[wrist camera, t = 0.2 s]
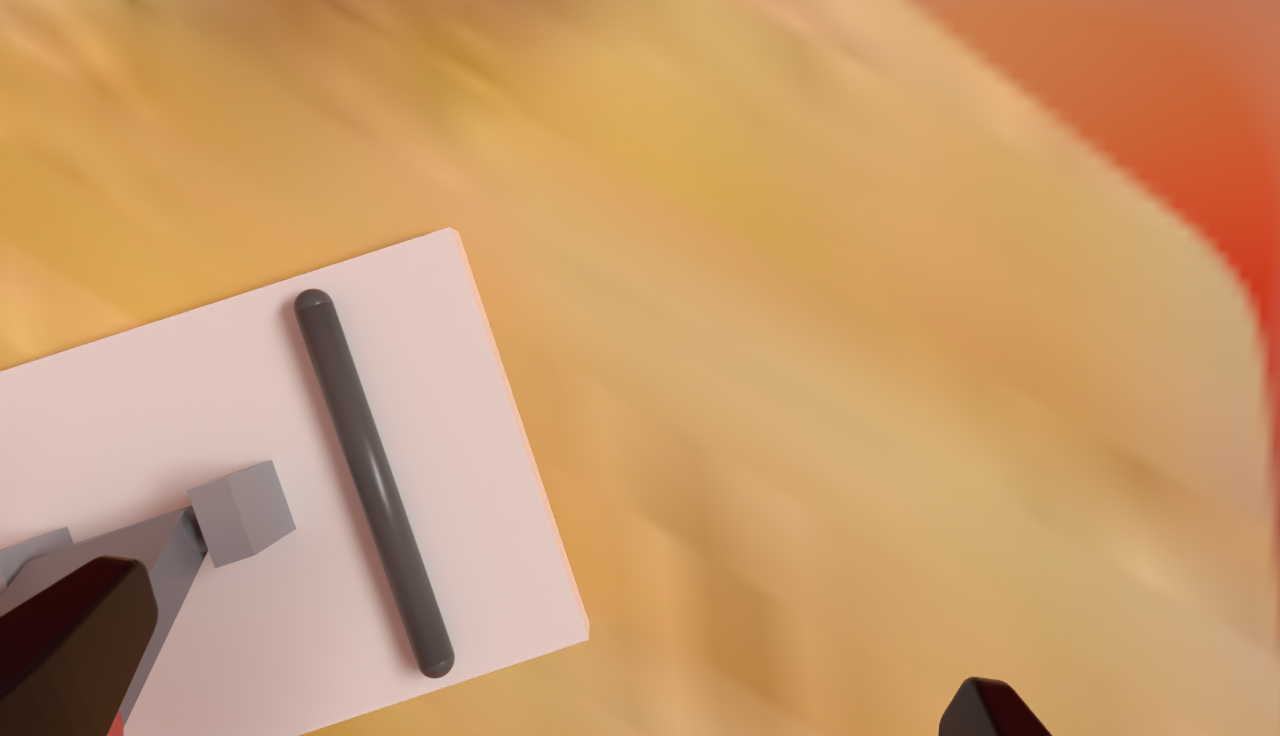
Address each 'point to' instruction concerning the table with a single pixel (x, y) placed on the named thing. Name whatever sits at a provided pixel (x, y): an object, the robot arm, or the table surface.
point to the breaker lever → (157, 542)
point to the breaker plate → (305, 491)
